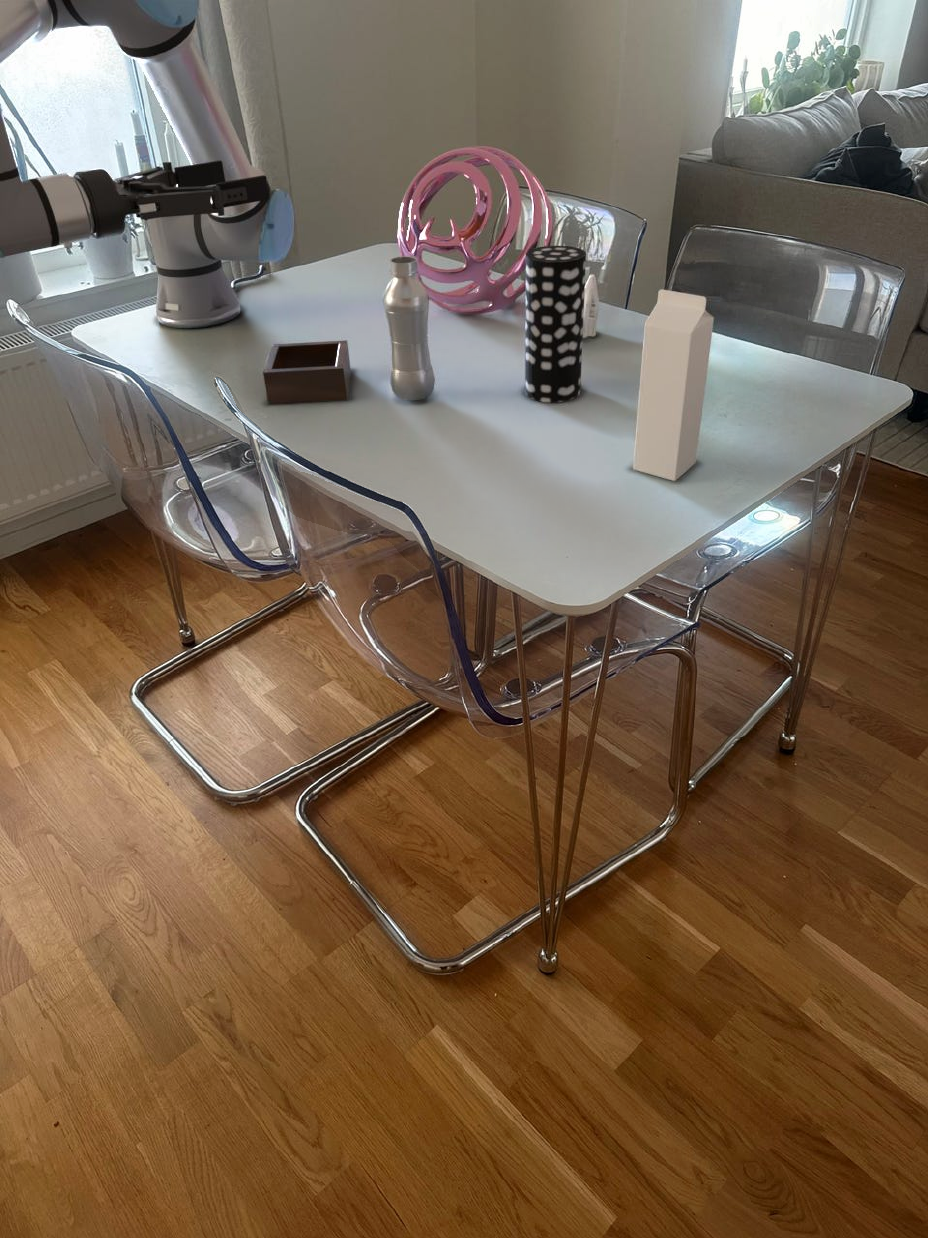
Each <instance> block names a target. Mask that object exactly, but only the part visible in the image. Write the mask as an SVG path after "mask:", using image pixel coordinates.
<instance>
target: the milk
mask: <svg viewBox="0 0 928 1238" xmlns="http://www.w3.org/2000/svg"><path fill="white" fill-rule="evenodd" d="M657 293H658V294H657V301H656V302H657V303H656V304H655V306H654V307H653V309H652V311H651V313H650V314H649V316H648V318H647V319H646V320H645V323H644V329H643V330H644V331H643V343H642V353H641V354H642V355H641V357H642V358H641V366H640V367H641V368H640V379H639V392H638V403H637V414H636V415H637V416H636V417H637V418H636V430H635V440H634V441H635V442H634V443H635V444H634V451H633V452H634V454H633V464H632V469H633V470H634V471H637V472H640V473H644V474H648V475H651V476H655V477H658V478H663V479H665V480H669V481H673V482H676V481H678V479H680V478H681V477H682V476H683V475H685V473H686V472H687V471H688V470H690V469H691V468H692V467H693V466H694V465H695V464H696V463H697V458H698V457H697V456H698V449H699V448H698V447H699V439H700V431H701V424H702V418H703V417H702V416H703V408H704V401H705V392H706V384H707V377H708V368H709V362H710V361H709V360H710V354H711V346H712V345H711V344H712V338H713V331H714V329H713V328H714V321H715V317H714V316H713V315H712V314H710V313H709V312H708V311H707V310H706V307H707V297H706V296H702V295H698V294H692V293H687V292H678V291H675V290H668V289H663V288H661V289H659V290H658V292H657Z"/></svg>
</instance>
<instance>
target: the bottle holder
mask: <svg viewBox="0 0 928 1238" xmlns="http://www.w3.org/2000/svg"><path fill="white" fill-rule="evenodd" d="M262 376H263V382H264V388H265V393H266V399H267V404H268V405H283V404H299V403H300V404H301V403H318V402H320V403H322V402H336V401H339V402H340V401H347V400H348V396H349V388H350V379H351V361H350V353H349V344H348V340H345V339H344V340H330V341H329V340H327V341H309V342H307V341H306V342H293V343H273V344H271V346H270V350H269V353H268V356H267V359H266V361H265V365H264V368H263V371H262Z"/></svg>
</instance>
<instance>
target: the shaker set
mask: <svg viewBox="0 0 928 1238" xmlns="http://www.w3.org/2000/svg"><path fill="white" fill-rule="evenodd" d="M599 307H600V298H599V291H598V285H597V279H596V275H595V274H592V273H591V274H590V275H589V277H588V279H587V280H586V282H585V292H584V316H583V339H585V338H587V337H592V338H593V337H595V336H597V334H596V331H597V324H598V323H597V322H598V315H599Z"/></svg>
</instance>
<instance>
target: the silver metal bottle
mask: <svg viewBox="0 0 928 1238" xmlns="http://www.w3.org/2000/svg"><path fill="white" fill-rule="evenodd" d="M389 261H390V262H389V264H390V270H389V274H390V276H391V277H392V278H391V279H390V281H389V283H388V284H387V286H386V288H385V290H384V292H383V295H382V303H383V309H384V313H385V318H386V321H387V326H388V332H389V337H390V339H389V340H390V346H391V347H390V351H391V352H390V353H391V358H390V359H391V367H390V372H389V373H390V374H389V382H390V383H389V384H390V387H391V390H392V392H393V394H394V395H395V396H396V397H397V398H399V399H401V400H404V401H418V400H419V401H420V400H423V399H427V398H428V397H430V396H431V394H432V393H433V391H434V389H435V383H436V382H435V381H436V378H435V373H434V369H433V365H432V361H431V355H430V348H429V337H428V335H429V334H428V333H429V332H428V331H429V330H428V324H429V323H428V321H429V309H430V306H429V305H430V300H429V296H428V293H427V290H426V289H425V287H424V286H423V284H422V283H421V282H420V281H419V279H418V278H417V276H416V274H418V268H417V259H416V258H414V257H408V256H403V257H401V256H396V257H393V258H391V259H390V260H389Z"/></svg>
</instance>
